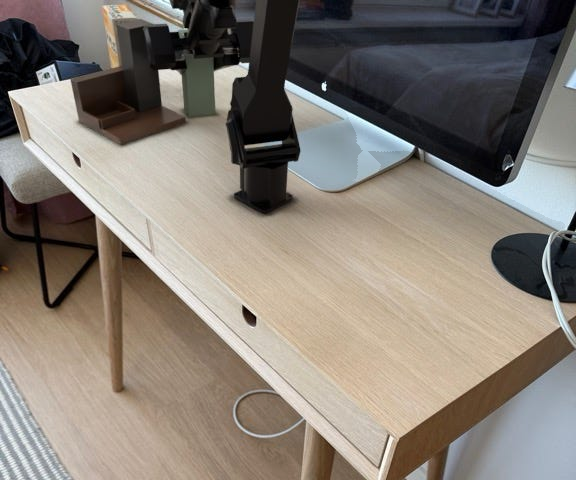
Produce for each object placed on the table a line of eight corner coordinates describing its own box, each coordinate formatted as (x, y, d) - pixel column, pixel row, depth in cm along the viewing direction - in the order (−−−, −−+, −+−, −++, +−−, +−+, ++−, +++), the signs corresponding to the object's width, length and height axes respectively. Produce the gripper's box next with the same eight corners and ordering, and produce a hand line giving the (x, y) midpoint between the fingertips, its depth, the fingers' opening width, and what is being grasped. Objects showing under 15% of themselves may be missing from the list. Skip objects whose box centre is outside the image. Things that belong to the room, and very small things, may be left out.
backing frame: (186, 122, 101) (179, 33, 91) (119, 145, 93) (104, 51, 83) (144, 102, 106) (133, 15, 96) (78, 122, 99) (58, 30, 88)
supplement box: (112, 82, 112) (100, 4, 102) (136, 80, 114) (126, 3, 104) (122, 97, 107) (110, 17, 97) (147, 95, 109) (138, 16, 99)
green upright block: (215, 114, 104) (212, 34, 95) (189, 117, 103) (183, 36, 93) (209, 107, 106) (206, 28, 97) (184, 109, 105) (177, 29, 95)
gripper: (256, -40, 88) (234, 21, 103) (136, -37, 82) (131, 27, 97) (273, 33, 89) (249, 83, 104) (155, 41, 83) (147, 92, 98)
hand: (195, 70), depth 101 cm, fingers closed on green upright block, 5 cm apart
